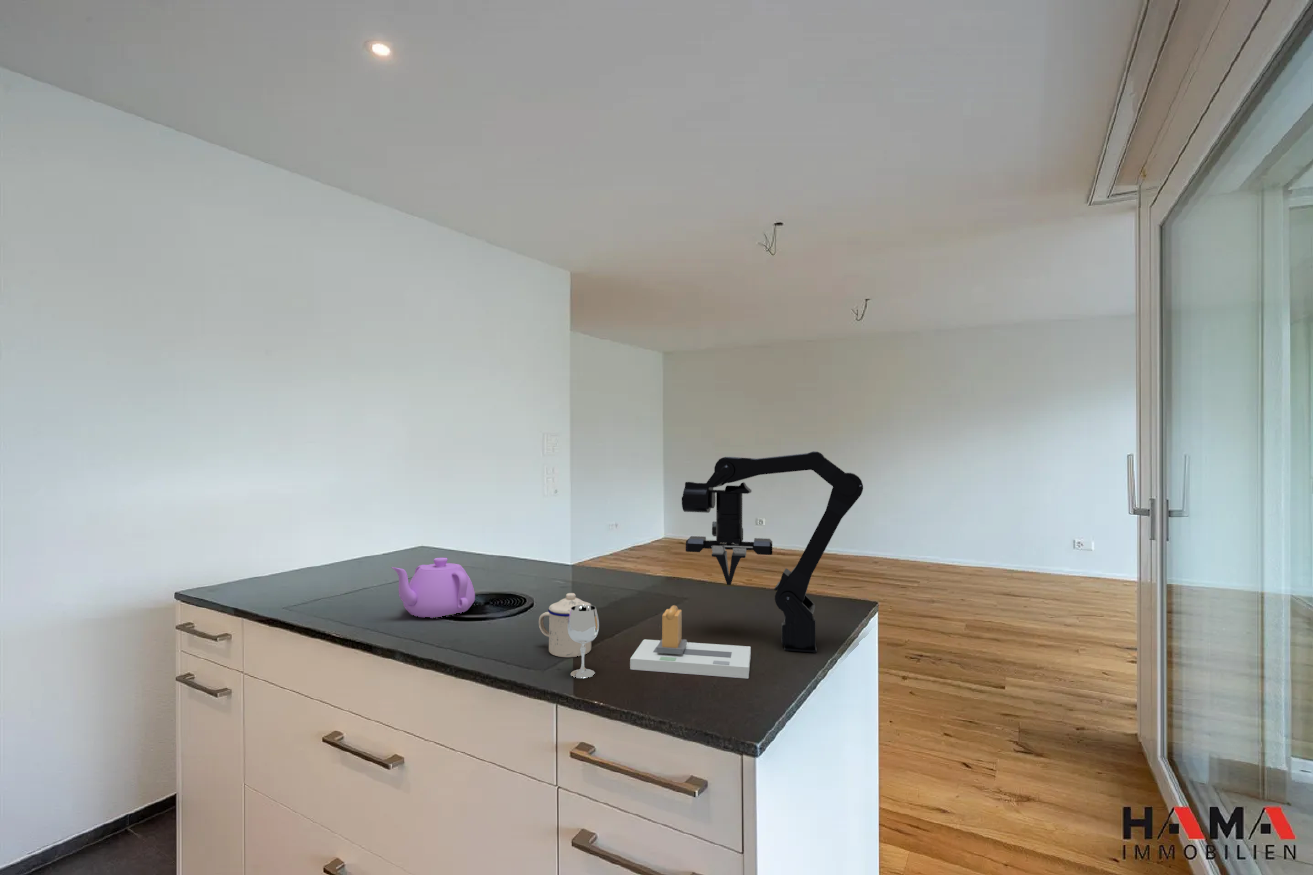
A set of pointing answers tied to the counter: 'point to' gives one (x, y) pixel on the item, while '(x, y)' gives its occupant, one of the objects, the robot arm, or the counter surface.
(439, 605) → the teapot
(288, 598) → the counter surface
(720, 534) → the robot arm
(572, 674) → the wineglass
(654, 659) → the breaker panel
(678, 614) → the toggle
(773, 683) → the counter surface
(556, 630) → the teacup with lid
